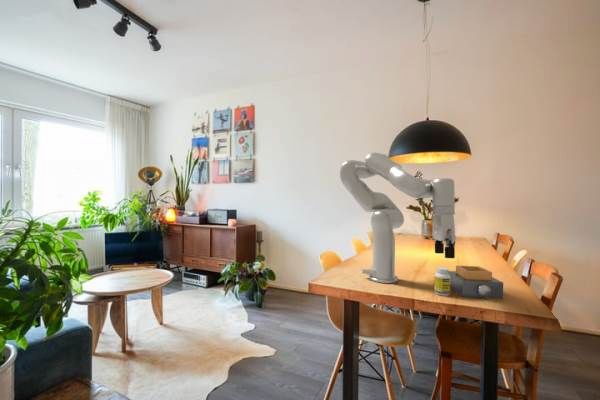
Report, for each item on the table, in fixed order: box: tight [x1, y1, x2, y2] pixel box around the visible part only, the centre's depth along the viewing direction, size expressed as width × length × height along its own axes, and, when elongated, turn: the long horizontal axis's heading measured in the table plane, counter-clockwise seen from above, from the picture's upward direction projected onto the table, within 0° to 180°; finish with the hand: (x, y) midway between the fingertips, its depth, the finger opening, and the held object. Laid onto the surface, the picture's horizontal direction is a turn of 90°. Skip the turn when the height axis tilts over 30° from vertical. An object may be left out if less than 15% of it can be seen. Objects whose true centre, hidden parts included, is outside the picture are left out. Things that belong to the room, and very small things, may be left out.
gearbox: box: [448, 265, 504, 300], centre depth 107 cm, size 14×16×9 cm
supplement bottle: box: [433, 266, 451, 297], centre depth 105 cm, size 5×5×10 cm
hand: (444, 255), depth 105 cm, fingers open, 9 cm apart
